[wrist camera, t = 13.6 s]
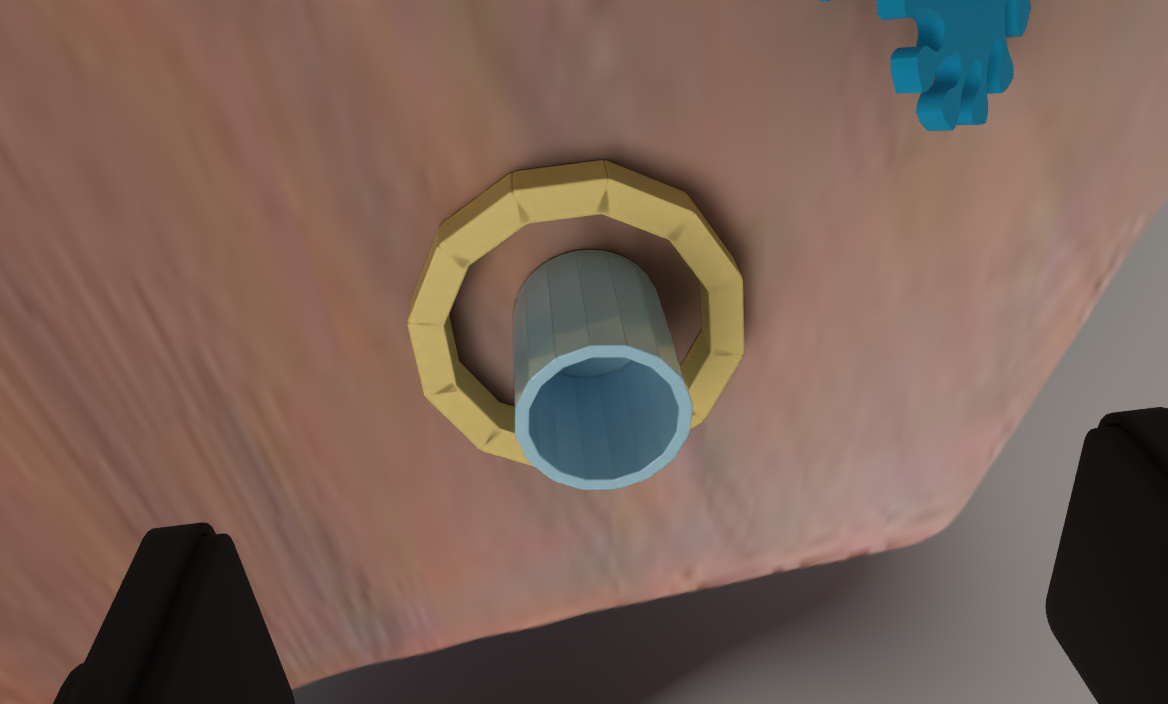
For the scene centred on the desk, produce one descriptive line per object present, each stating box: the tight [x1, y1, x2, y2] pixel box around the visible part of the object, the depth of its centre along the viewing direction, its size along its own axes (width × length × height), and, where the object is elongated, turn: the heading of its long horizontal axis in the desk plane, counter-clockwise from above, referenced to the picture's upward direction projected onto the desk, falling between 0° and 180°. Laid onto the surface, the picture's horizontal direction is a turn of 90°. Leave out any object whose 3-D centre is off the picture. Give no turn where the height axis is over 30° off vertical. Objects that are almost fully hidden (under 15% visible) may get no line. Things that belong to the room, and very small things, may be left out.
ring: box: [407, 160, 744, 466], centre depth 38 cm, size 13×13×2 cm
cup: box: [513, 250, 693, 490], centre depth 36 cm, size 6×6×8 cm
